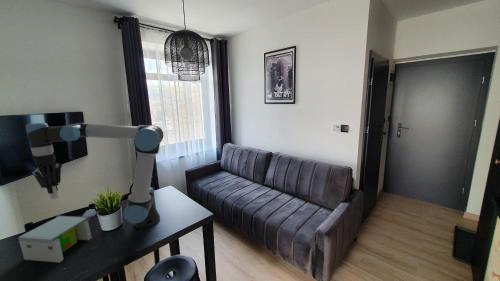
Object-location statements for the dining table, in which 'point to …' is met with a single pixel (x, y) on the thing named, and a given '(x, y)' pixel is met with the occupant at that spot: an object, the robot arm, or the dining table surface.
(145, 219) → the robot arm
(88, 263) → the dining table surface
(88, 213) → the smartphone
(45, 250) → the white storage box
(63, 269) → the dining table surface
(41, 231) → the lid
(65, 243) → the puzzle toy
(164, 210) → the dining table surface
